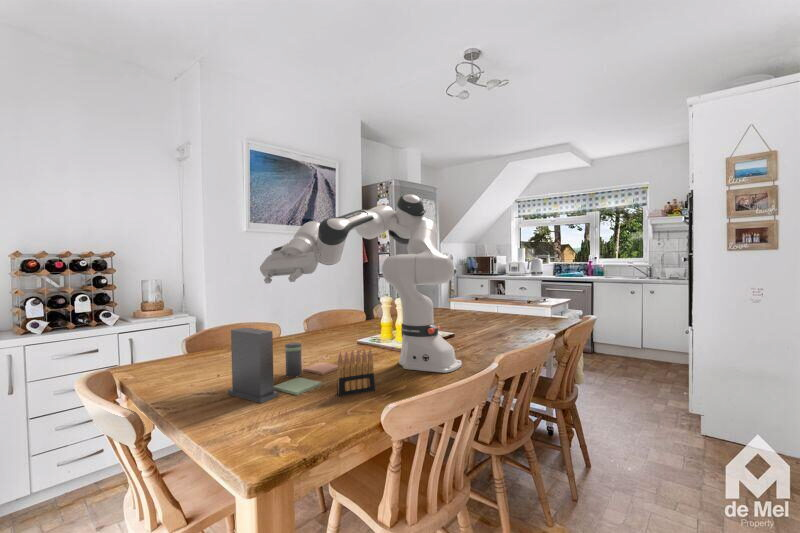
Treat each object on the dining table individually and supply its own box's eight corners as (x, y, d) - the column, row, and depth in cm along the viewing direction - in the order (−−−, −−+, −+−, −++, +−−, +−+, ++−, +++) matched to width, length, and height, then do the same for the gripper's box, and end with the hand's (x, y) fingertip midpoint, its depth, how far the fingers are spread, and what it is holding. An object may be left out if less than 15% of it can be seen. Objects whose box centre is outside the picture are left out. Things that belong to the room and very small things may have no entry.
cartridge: (305, 373, 128) (304, 343, 128) (293, 378, 123) (292, 347, 123) (294, 371, 131) (293, 342, 130) (282, 375, 126) (281, 345, 126)
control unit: (278, 396, 108) (277, 331, 107) (260, 403, 102) (259, 335, 102) (246, 387, 115) (244, 326, 114) (227, 394, 110) (226, 330, 109)
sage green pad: (321, 384, 117) (321, 382, 117) (297, 395, 108) (296, 392, 108) (298, 379, 122) (297, 377, 122) (272, 389, 113) (272, 386, 113)
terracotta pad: (340, 367, 134) (340, 365, 134) (322, 374, 126) (322, 372, 126) (321, 364, 139) (321, 362, 139) (302, 370, 131) (302, 368, 131)
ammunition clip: (338, 396, 107) (337, 353, 106) (336, 394, 108) (336, 352, 108) (375, 390, 111) (374, 349, 111) (372, 388, 113) (372, 347, 113)
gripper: (326, 259, 132) (310, 287, 122) (277, 263, 139) (258, 289, 129) (319, 244, 128) (302, 271, 118) (268, 249, 135) (248, 275, 125)
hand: (278, 281), depth 124 cm, fingers open, 8 cm apart
